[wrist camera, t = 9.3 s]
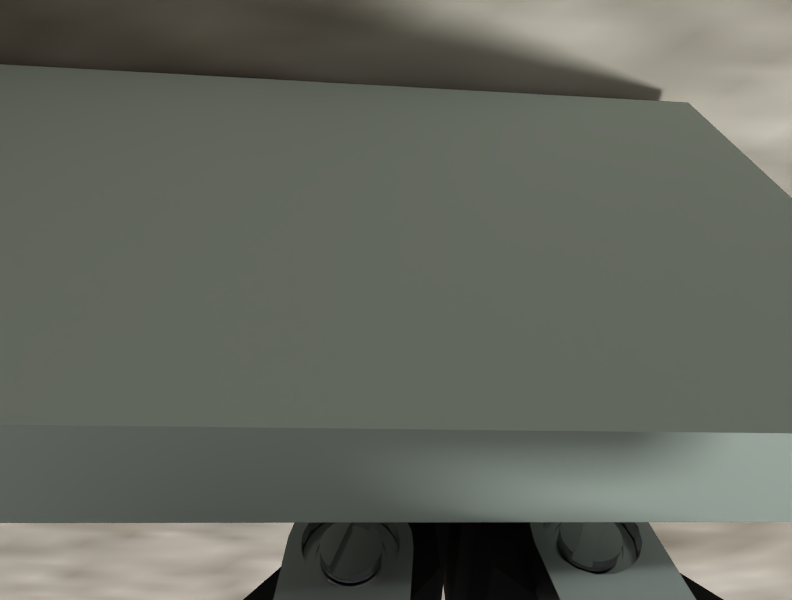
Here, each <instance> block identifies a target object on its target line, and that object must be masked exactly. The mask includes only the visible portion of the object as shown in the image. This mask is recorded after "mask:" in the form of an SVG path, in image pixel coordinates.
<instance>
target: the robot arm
mask: <svg viewBox="0 0 792 600" xmlns="http://www.w3.org/2000/svg"><path fill="white" fill-rule="evenodd" d="M443 586H444V593H445V600H723V599H721V598H720V597H718V596H716V595H715V594H713V593H712V592H710V591H708V590H707V589H705V588H703V587H702V586H700V585H699V584H697V583H695V582H694V581H692V580H690V579H689V578H687V577H686V576H684V575H682V574H681V573H679V571H678V570H677V568H676V566H675V565H674V563H673V561H672V560H671V558H670V557H669V555H668V553H667V552H666V550H665V549H664V547H663V545H662V544H661V542H660V540H659V539H658V537H657V536H656V534H655V532H654V531H653V529H652V528H651V526H650V524H649V523H648V522H295V523H294V525H293V528H292V530H291V532H290V534H289V537H288V541H287V545H286V549H285V553H284V557H283V561H282V566H281V567H280V568H279V569H278V570H277V571H276V572H275V573H273V574H272V575H271V576H270V577H269V578H268V579H267V580H265V581H264V582H263V583H262V584H261V585H260V586H258V587H257V588H256V589H255V590H254V591H253V592H252V593H250V594H249V595H248V596H247V597H246V598H245V599H244V600H441V598H442V589H443Z"/></svg>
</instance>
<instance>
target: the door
mask: <svg viewBox="0 0 792 600" xmlns="http://www.w3.org/2000/svg"><path fill="white" fill-rule="evenodd" d="M263 522H792V198H791V197H790V196H789V195H788V194H787V193H786V192H785V191H783V190H782V189H781V188H780V187H779V186H778V185H777V184H776V183H775V182H774V181H773V180H772V179H770V178H769V177H768V176H767V175H766V174H765V173H764V172H763V171H762V170H761V169H760V168H759V167H757V166H756V165H755V164H754V163H753V162H752V161H751V160H750V159H749V158H748V157H747V156H746V155H744V154H743V153H742V152H741V151H740V150H739V149H738V148H737V147H736V146H735V145H734V144H732V143H731V142H730V141H729V140H728V139H727V138H726V137H725V136H724V135H723V134H722V133H721V132H719V131H718V130H717V129H716V128H715V127H714V126H713V125H712V124H711V123H710V122H709V121H708V120H706V119H705V118H704V117H703V116H702V115H701V114H700V113H699V112H698V111H697V110H696V109H695V108H693V107H692V106H691V105H690V104H689V103H687V102H669V101H651V100H633V99H615V98H597V97H579V96H561V95H543V94H525V93H507V92H489V91H471V90H453V89H435V88H417V87H399V86H381V85H363V84H345V83H327V82H309V81H291V80H273V79H255V78H237V77H219V76H201V75H184V74H166V73H148V72H130V71H112V70H94V69H76V68H58V67H40V66H22V65H4V64H0V523H263Z"/></svg>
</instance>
